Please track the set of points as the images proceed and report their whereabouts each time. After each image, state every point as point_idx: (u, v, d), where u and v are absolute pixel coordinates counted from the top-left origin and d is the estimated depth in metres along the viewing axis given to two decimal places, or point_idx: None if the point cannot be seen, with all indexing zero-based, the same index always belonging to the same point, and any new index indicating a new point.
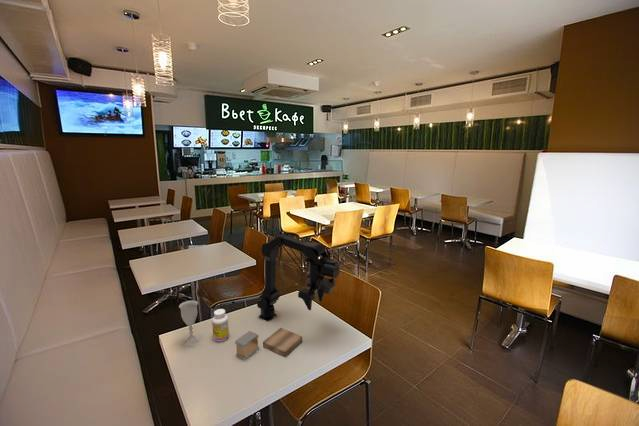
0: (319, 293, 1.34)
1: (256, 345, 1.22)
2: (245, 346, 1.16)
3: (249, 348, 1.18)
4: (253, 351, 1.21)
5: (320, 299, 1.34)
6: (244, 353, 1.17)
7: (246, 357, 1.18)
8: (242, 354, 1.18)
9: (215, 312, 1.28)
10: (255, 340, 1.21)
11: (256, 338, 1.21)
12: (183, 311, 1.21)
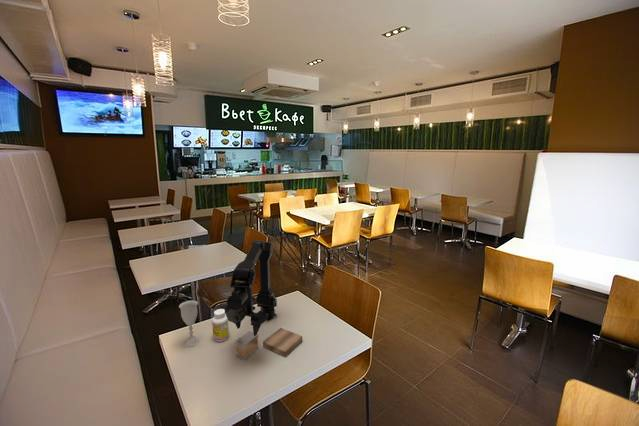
0: None
1: (256, 345, 1.22)
2: (245, 346, 1.16)
3: (249, 348, 1.18)
4: (253, 351, 1.21)
5: None
6: (244, 353, 1.17)
7: (246, 357, 1.18)
8: (242, 354, 1.18)
9: (215, 312, 1.28)
10: (255, 340, 1.21)
11: (256, 338, 1.21)
12: (183, 311, 1.21)
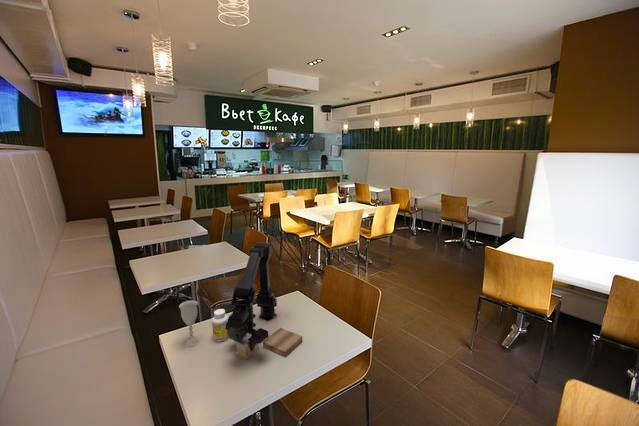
0: None
1: (256, 345, 1.22)
2: (245, 346, 1.16)
3: (249, 348, 1.18)
4: (253, 351, 1.21)
5: None
6: (244, 353, 1.17)
7: (246, 357, 1.18)
8: (242, 354, 1.18)
9: (215, 312, 1.28)
10: None
11: None
12: (183, 311, 1.21)
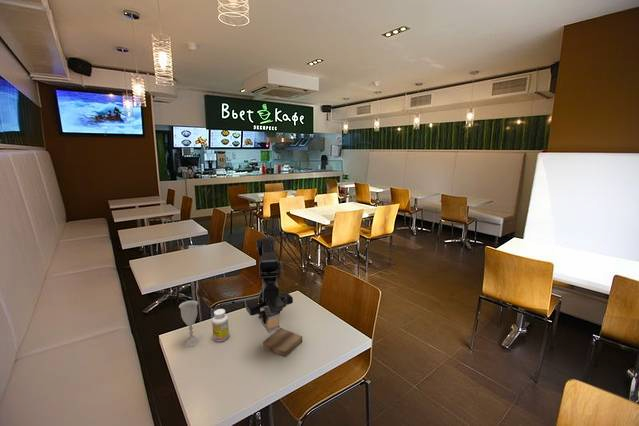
0: None
1: None
2: None
3: None
4: None
5: None
6: (278, 323, 1.21)
7: None
8: (275, 325, 1.20)
9: (215, 312, 1.28)
10: None
11: None
12: (183, 311, 1.21)
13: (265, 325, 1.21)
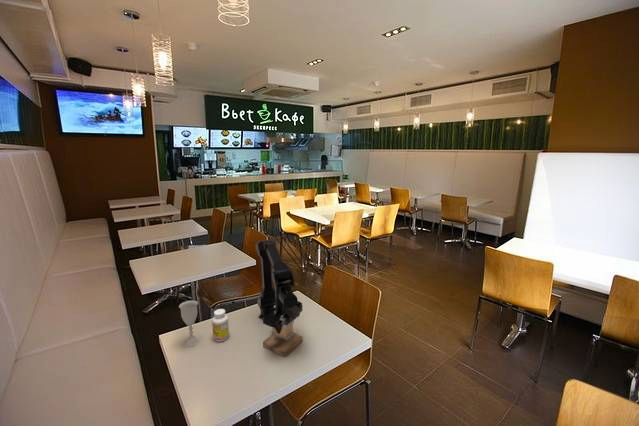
0: None
1: None
2: None
3: None
4: None
5: None
6: (292, 329, 1.25)
7: None
8: (290, 332, 1.25)
9: (215, 312, 1.28)
10: None
11: None
12: (183, 311, 1.21)
13: (280, 334, 1.23)
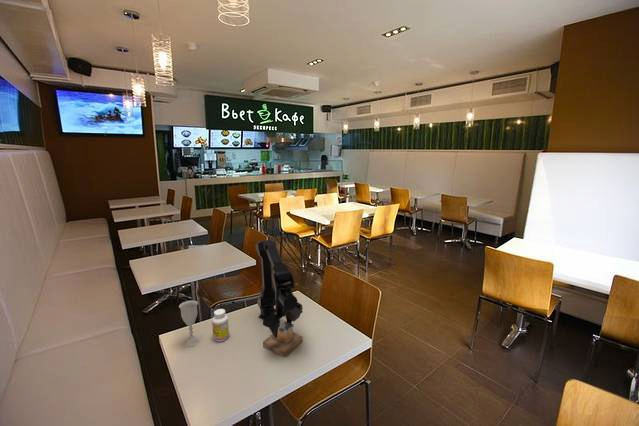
0: (287, 318, 1.29)
1: None
2: None
3: None
4: None
5: None
6: (292, 333, 1.26)
7: None
8: (290, 336, 1.25)
9: (215, 312, 1.28)
10: None
11: None
12: (183, 311, 1.21)
13: (280, 339, 1.24)
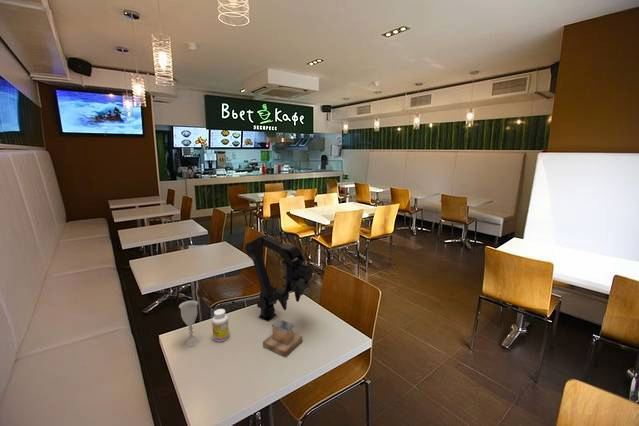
0: (296, 294, 1.39)
1: None
2: None
3: None
4: None
5: (297, 299, 1.39)
6: (292, 333, 1.26)
7: None
8: (290, 336, 1.25)
9: (215, 312, 1.28)
10: None
11: None
12: (183, 311, 1.21)
13: (280, 339, 1.24)
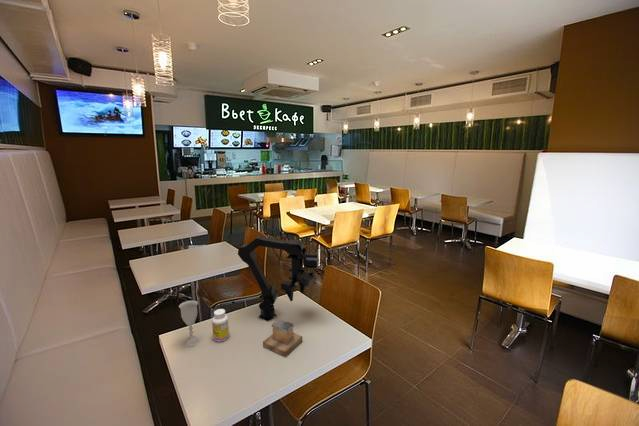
0: (301, 286, 1.47)
1: None
2: None
3: None
4: None
5: (302, 291, 1.47)
6: (292, 333, 1.26)
7: None
8: (290, 336, 1.25)
9: (215, 312, 1.28)
10: None
11: None
12: (183, 311, 1.21)
13: (280, 339, 1.24)
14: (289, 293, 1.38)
